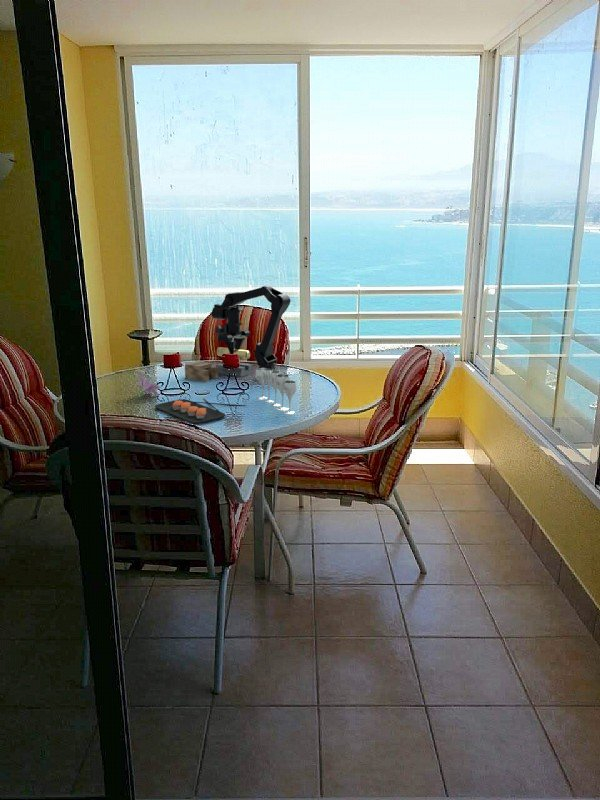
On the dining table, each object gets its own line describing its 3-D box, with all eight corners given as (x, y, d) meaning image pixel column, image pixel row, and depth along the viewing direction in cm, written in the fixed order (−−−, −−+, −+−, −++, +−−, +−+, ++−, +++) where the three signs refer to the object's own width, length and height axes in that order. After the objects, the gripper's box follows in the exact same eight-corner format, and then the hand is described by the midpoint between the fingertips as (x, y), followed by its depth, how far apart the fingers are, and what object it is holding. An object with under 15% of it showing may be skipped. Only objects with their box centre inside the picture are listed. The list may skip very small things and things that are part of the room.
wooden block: (217, 378, 286) (217, 364, 284) (206, 381, 279) (206, 367, 277) (196, 374, 291) (195, 361, 290) (185, 378, 285) (184, 364, 283)
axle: (250, 358, 292) (250, 350, 291) (245, 359, 288) (245, 351, 287) (221, 355, 299) (221, 346, 298) (216, 356, 296) (216, 347, 295)
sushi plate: (152, 410, 240) (151, 400, 239) (216, 395, 260) (216, 386, 259) (195, 428, 220) (195, 417, 219) (261, 411, 239) (261, 401, 238)
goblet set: (299, 413, 236) (300, 378, 232) (286, 415, 233) (286, 380, 230) (265, 395, 259) (265, 363, 256) (253, 397, 257) (252, 365, 253)
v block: (252, 372, 297) (252, 364, 296) (240, 377, 288) (240, 368, 287) (228, 369, 303) (227, 360, 302) (215, 373, 295) (215, 364, 294)
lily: (162, 403, 250) (168, 380, 252) (134, 395, 245) (140, 371, 246) (151, 405, 261) (157, 382, 263) (124, 397, 255) (130, 374, 257)
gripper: (230, 316, 300) (231, 348, 305) (206, 321, 285) (208, 355, 289) (250, 318, 295) (250, 351, 300) (227, 323, 280) (228, 358, 284)
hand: (234, 354), depth 293 cm, fingers closed on axle, 4 cm apart
